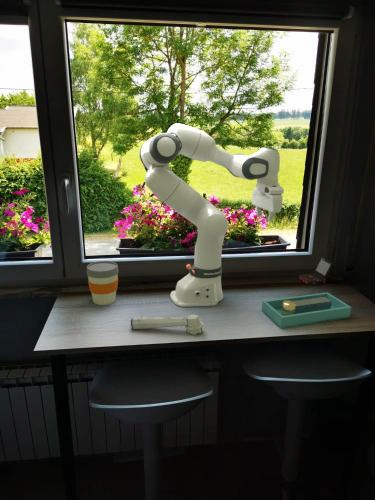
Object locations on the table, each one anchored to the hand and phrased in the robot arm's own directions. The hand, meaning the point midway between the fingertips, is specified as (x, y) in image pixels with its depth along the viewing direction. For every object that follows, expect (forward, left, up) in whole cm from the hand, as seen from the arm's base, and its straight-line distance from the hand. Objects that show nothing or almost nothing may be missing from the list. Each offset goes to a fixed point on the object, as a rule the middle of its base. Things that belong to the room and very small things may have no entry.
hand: (264, 218), depth 160 cm
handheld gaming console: (+28, -3, -31) cm, 42 cm away
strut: (+4, -32, -30) cm, 44 cm away
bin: (+3, -32, -31) cm, 44 cm away
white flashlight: (-51, -28, -32) cm, 66 cm away
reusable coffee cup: (-70, +2, -31) cm, 77 cm away
